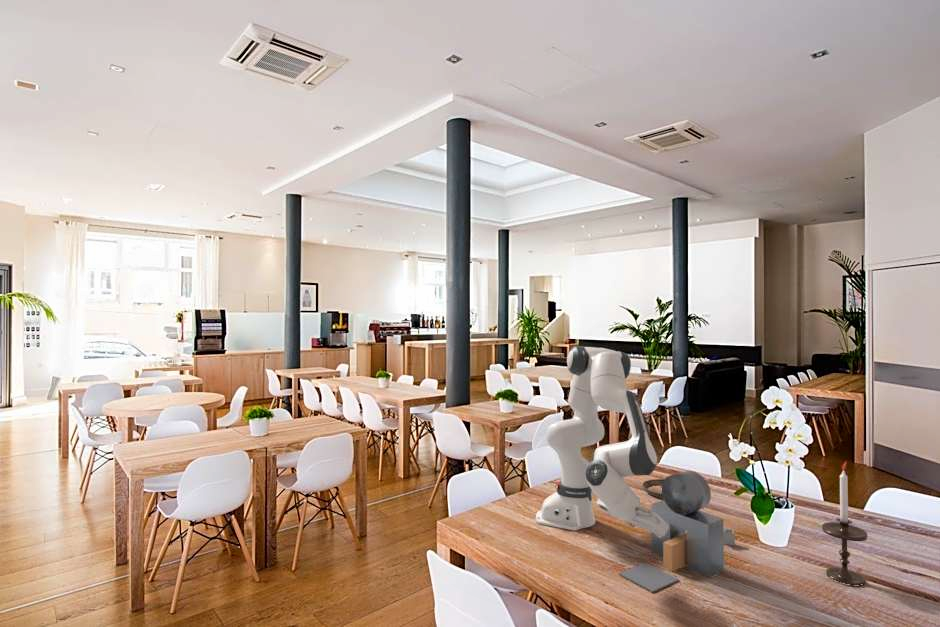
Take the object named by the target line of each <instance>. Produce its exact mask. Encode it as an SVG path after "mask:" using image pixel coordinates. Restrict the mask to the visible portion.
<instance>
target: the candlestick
mask: <svg viewBox="0 0 940 627" xmlns="http://www.w3.org/2000/svg"><path fill="white" fill-rule="evenodd" d="M847 464H848V463H847V461H845V462H844V463H843V465H842V466H841V469H842V472H841V474H840V475H839V514H840V515H839V517H838V518H836V519H835V520H836V521H837V522H835V521H833V522H824V523H822V524H821V531H822V532H823V533H825V534H827V535H829V536H830V537H833V538H836V539H839V540H841V549H840V550H838V554H839V555H840V556H841V558H839V562H840V563H841V568H840V567H830V568H827V569H826V571H825V574H827V575H826V576H828V577H830V578H831V579H833V580H836V581H838V582H841V583H845V584H850V585H861V584H863V583H864V584H865V578H864V577H863V576H862V575H860V574H858V573H857V572H854V571H851V570H849V569H848V566H849V565H850V563H851V562H850V561H849V558H850V556H851V552H850V551H848V542H850V541H851V542H864V541H867V540H868V533H867V531H866V530H864V529H862V528H861V527H857V526H855V525H852V524H853V521H852V520H850V519H849V495H848V494H849V493H848V492H849V491H848V490H849V489H848V487H849V486H848V483H849V482H848V481H849V480H848V475H846V474H847V473H846V467H847ZM828 577H827V578H828ZM830 578H829V579H830ZM831 579H830V580H831ZM833 580H832V581H833Z"/></svg>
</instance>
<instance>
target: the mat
mask: <svg viewBox="0 0 940 627" xmlns="http://www.w3.org/2000/svg"><path fill="white" fill-rule="evenodd" d="M618 576H620V577H622V578H624V579H626V580H628V581H629V580H630V582H631V583H633V584H634V585H637V584H638V585H640V586H642V587H644V588H645V589H644V588H643V589H644V590H646V589H647V590H646V591H648V590H649V591H648V592H650V591H651V592H654V591H656V590H658V591H660V590H662V589H664V587H665V588H666V586H667V587H669V586H671V585H673V584H675V583H677V582H680V579H679V578H678V577H675V576H673V575H671V574H669V573H667V572H665V571H663V570H661V569H659V568H656V567H655V566H653V565H651V564H649V563H646V562H644V563H641V564H639V565H636V566H634V567H631V568H629V569H627V570H624V571H621V572H620V573H618ZM638 585H637V586H638ZM668 585H669V586H668ZM640 586H639V587H640ZM642 587H641V588H642ZM661 588H662V589H661ZM659 589H660V590H659ZM651 592H650V593H651ZM656 592H657V591H656ZM654 593H655V592H654Z"/></svg>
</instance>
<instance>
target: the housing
mask: <svg viewBox="0 0 940 627" xmlns="http://www.w3.org/2000/svg"><path fill="white" fill-rule="evenodd" d="M664 479H665V480H664V481H663V484H662V495H663V498H664V499H663V498H662V499H663V500H660V501H657V502H654V503H651V511H653V512H655V513H657V514H658V515H659V516H660V517H661V518H662V519H663V520H664V521H665V522H666V523H667V524H668V525H669V528H668V531H667V533H666V535H665V536H664V537H661V538H658V537H656V536H655V535H654V533H652V532H651V553H652V554H654V553H655V554H654V555H656V554H657V555H656V556H658V555H659V557H660V556H662V557H661V558H663V542H665V541H668V540H671V539H673V538H676V537H678V536H681V535H684V534H686V533H687V565H686V566H687V570H689V571H691V570H692V571H691V572H693V571H694V572H693V573H695V572H696V574H697V573H698V575H699V576H702V577H704V576H705V578H706V577H707V578H706V579H708V578H709V579H711V578H713V577H715V576H717V575H718V574H721V573H723V572H724V571H725V562H724V561H725V560H724V559H725V557H724V556H725V554H724V553H725V552H724V550H725V548H724V535H723V530H724V518H722V517H719V516H717V515H714V514H711V513H708V512H705V511H702V510H703V509H705V508H707V506H709V504H710V503H711V497H712V492H711V488H710V486H709V484H708V482H707V480H706V479H705V478H704V476H702V475H701V474H700V473H698V472H696V471H694V470H685V471H682V472H678V473H675V474H674V473H673V474H670V475H668V476H666V477H665V478H664ZM714 575H715V576H714ZM712 576H713V577H712ZM710 577H711V578H710Z"/></svg>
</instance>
